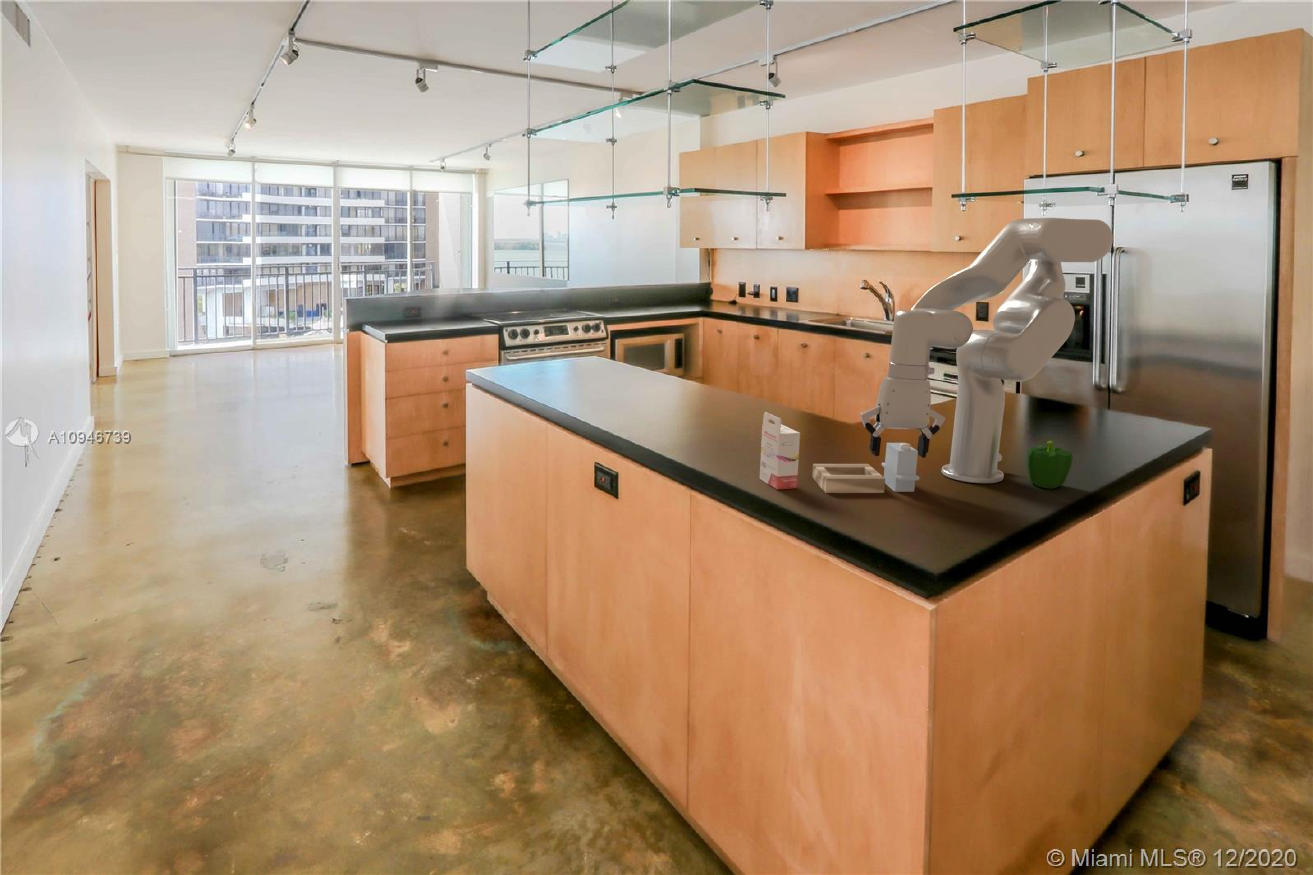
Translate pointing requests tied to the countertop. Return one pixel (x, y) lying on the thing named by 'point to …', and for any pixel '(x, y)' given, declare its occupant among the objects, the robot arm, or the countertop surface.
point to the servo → (900, 467)
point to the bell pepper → (1048, 465)
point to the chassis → (848, 478)
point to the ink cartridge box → (779, 454)
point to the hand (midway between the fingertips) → (898, 455)
